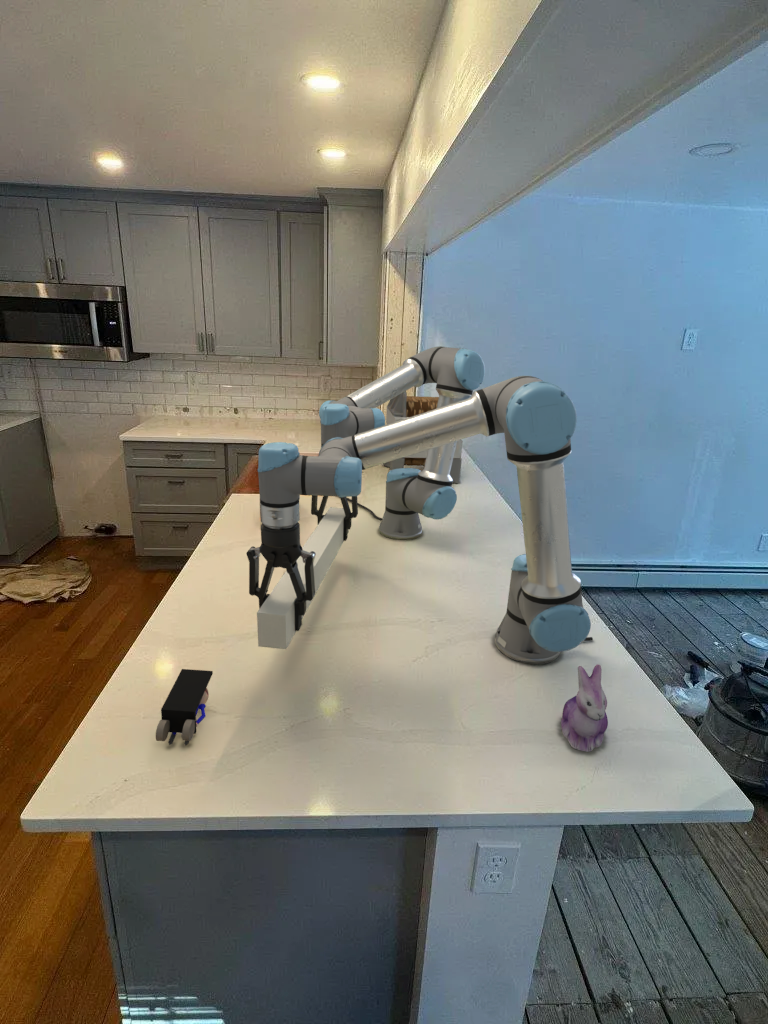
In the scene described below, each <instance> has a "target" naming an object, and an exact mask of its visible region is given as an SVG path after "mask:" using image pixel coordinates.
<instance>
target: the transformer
mask: <svg viewBox="0 0 768 1024" xmlns="http://www.w3.org/2000/svg"><path fill="white" fill-rule="evenodd" d="M407 394H408V393H407V390H406V391H405V392H403V393H401V394H399V395H398V396H396V397H394V398H392V399H391V400H389V401H388V402H387V403H388V404H387V405H386V413H385V414H386V415H385V424H386V425H387V424H390V423H393V422H396V421H400V420H403V419H406V418H409V417H412V416H415V415H418V414H422V413H425V412H428V411H431V410H434V409H436V408H437V404H438V399H439V396H415V395H414V396H413V395H412V396H411V395H407ZM463 442H464V441H463V439H461V440H458V441H457V443H456V448H455V452H454V457H453V461H452V466H451V470H450V476H451V477H452V479H453V483H452V484H455V483H456V484H459V483H461V472H462V461H463V460H462V453H463ZM427 451H428V450H425V451H422V452H419V453H416V454H412V455H409V456H406V457H403V458H399V459H396V460H393V461H390V462H386V463H383V464H382V465H383V466H384V467H388V468H389V471H391V470H393V469H399V468H405V466H406V467H407V466H411V467H412V466H413V467H415V466H416V467H417V466H418V467H424V466H425V461H426V456H427Z"/></svg>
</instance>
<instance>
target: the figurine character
mask: <svg viewBox="0 0 768 1024" xmlns="http://www.w3.org/2000/svg"><path fill="white" fill-rule="evenodd" d="M213 673H214V671H213V670H203V669H202V670H201V669H188V668H187V669H186V668H182V669H181V670H180V672H179V674H178V676H177V677H176V680H175V681H174V683H173V686H172V687H171V690H170V691H169V693H168V695H167V697H166V698H165V701H164V703H163V705H162V707H161V709H160V712H161V713H160V715H161V719H160V720H159V721H158V723H157V726H156V729H155V741H157V742H165V741H166V740H167V738H168V737H169V733H170V737H169V739H168V741H167V742H168V745H169V746H170V745H173V743H174V741H175V738H176V737H177V734H181V740H182V741H184V745H185V746H187V745H188V744H190V742H191V741H192V740H193V737H194V735H196V734H197V728H198V725H199V724H200V723H201V722H202V721H203V720H204V719H205V718H206V715H207V714H206V710H205V708H206V707H207V705H206V704H207V702H208V700H209V697H210V696H209V690H208V686H209V683H210V680H211V678H212V676H213ZM199 710H200V713H201V715H200V716H199V717H198V718H197V716H198V713H199Z"/></svg>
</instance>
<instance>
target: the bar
mask: <svg viewBox="0 0 768 1024" xmlns="http://www.w3.org/2000/svg"><path fill="white" fill-rule="evenodd" d="M323 515H324V517H323V518H322V520H321V521H320V523H319V524H318V523H317V526H316V527H315V528H314V529H313V531H312V533H311V534H310V535H309V536H308V538H307V539H306V541H305V543H304V544H303V545H302V546H301V547H302V549H303V550H304V551H307V552H309V553H310V552H311V551H314V552H315V554H316V555H315V558H314V561H313V566H314V581H315V595H314V597H313V599H312V600H311V601H309V600H307V601H306V612H305V614H304V616H303V615H302V620H303V619H304V617H305V616H306V614H307V612H308V610H309V608H310V606H311V604H312V602H313V600H314V599H315V596H316V595H317V593H318V591H319V589H320V587H321V586H322V584H323V581H324V580H325V577H326V576H327V574H328V572H329V570H330V568H331V567H332V564H333V562H334V561H335V559H336V557H337V554H338V553H339V551H340V550H341V547H342V545H343V544H344V542H345V541H343V533H344V518H345V512H344V509H343V507H336V506H329V508H328V510H327V511H326V512H325V514H323ZM349 531H350V529H348V534H349ZM296 561H297V564H298V570H299V573H300V576H301V579H302V582H303V585H304V588H305V591H306V582H305V563H303V559H302V557H301V556H300V557H299V558H298V559H297V560H296ZM269 594H270V595H269V596H268V597H267V599H266V600H265V602H264V603H263V605H262V606H261V607H260V609H259V608H258V611H257V612H256V622H257V646H258V647H259V648H270V649H277V650H278V649H279V650H287V649H288V647H289V646H290V644H291V642H292V640H293V638H294V636H295V635H296V632H297V631H295V607H294V603H295V601H296V599H297V596H296V593H295V590H294V587H293V584H292V582H291V579H290V576H289V574H288V573H287V570H285V572H283V574H282V576H281V577H280V579H279V580H278V581H277V583H276V585H275V586H274V587H273V588H272V590H271V591H270V593H269Z"/></svg>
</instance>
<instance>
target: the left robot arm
mask: <svg viewBox="0 0 768 1024" xmlns="http://www.w3.org/2000/svg"><path fill="white" fill-rule="evenodd" d="M485 375H486V366H485V363H484V360H483V358H482V356H481V355H480V354H479V353H478V352H477V351H475V350H472V349H468V348H461V347H460V348H459V347H447V346H440V345H439V346H433V347H429V348H427V349H424V350H421V351H420V352H418V353H416V354H413V355H412V356H410V357H408V358H406V359H404V361H403V362H402V365H400V366H399V367H396V368H395V369H393V370H391V371H389V372H388V373H386V374H384V375H382V376H380V377H378V378H376V379H375V380H373V381H371V382H370V383H369V382H368V383H367V384H365V385H363V386H362V387H360V388H358V389H357V390H355V391H353V392H351V393H349V394H347V395H345V396H344V397H342V398H340V399H338V400H334V399H332V400H325V401H324V402H323V403H322V404H321V405H320V407H319V410H318V415H319V420H320V448H321V447H322V446H323V445H324V444H325V443H326V442H327V441H328V440H330V439H332V438H337V437H338V438H346V437H349V436H353V435H356V434H359V433H362V432H365V431H368V430H371V429H375V428H378V427H381V426H384V425H386V415H385V414H384V412H383V411H382V410H381V409H380V408H378V407H381V406H382V405H383V404H385V403H388V402H389V401H390V400H391V399H392V398H394V397H396V396H398V395H399V394H401V393H403V392H405V391H406V392H407V391H408V390H410V389H412V388H413V387H414V388H420V387H422V386H424V385H427V384H436V386H435V391H436V393H437V394H438V397H439V399H438V404H437V408H440V407H443V406H447V405H450V404H453V403H456V402H459V401H462V400H465V399H469V398H470V397H471V396H472V394H473V392H474V391H476V390H477V389H479V388H480V386H481V385H482V384H483V382H484V379H485ZM437 408H436V409H437ZM456 443H457V441H454V442H451V443H448V444H445V445H442V446H438V447H435V448H432V449H429V450H428V451H427V456H426V461H425V466H423V469H422V470H420V469H419V468H414V467H404V468H399V469H393V470H391V471H390V470H388V472H387V475H386V480H385V504H384V505H385V507H384V508H385V509H384V513H383V515H382V517H379V516H377V515H376V514H375V513H374V511H372V510H371V509H370V508H368V507H366V506H365V505H363V504H361V503H359V502H358V496H351V498H350V497H339V499H340V502H341V505H342V508H343V509H344V512H345V518H344V533H343V541H344V542H346V541H347V540H348V536H349V535H348V534H349V533H348V529H349V530H351V528H352V519H355V518H357V516H358V514H359V507H360V508H362V509H363V510H365V511H367V512H368V513H370V514H371V515H372V517H373V518H375V519H376V520H377V521H381V522H379V526H378V533H379V534H380V535H381V536H382V537H385V538H387V539H389V540H395V541H410V540H415V539H418V538H420V537H421V536H422V535H423V525H422V522H421V518H420V515H422V516H424V517H425V518H428V519H432V520H437V521H439V520H442V519H444V518H446V517H448V515H450V514H451V513H452V511H453V510H454V508H455V506H456V503H457V499H458V494H457V491H456V490H455V489H454V487H453V484H454V483H453V479H452V477H451V476H450V470H451V466H452V461H453V457H454V452H455V448H456ZM318 497H319V496H313V495H311V500H310V501H311V503H310V514H311V515H312V516H316V517H317V525H318V524H319V523H320V521H321V520H322V518H323V517H324V515H325V514H324V511H325V509H326V505H327V502H328V500H329V499H328V498H329V496H322V498H321V501H320V505H319V507H318V500H319V499H318ZM349 502H350V503H351V508H350V504H349Z"/></svg>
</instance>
